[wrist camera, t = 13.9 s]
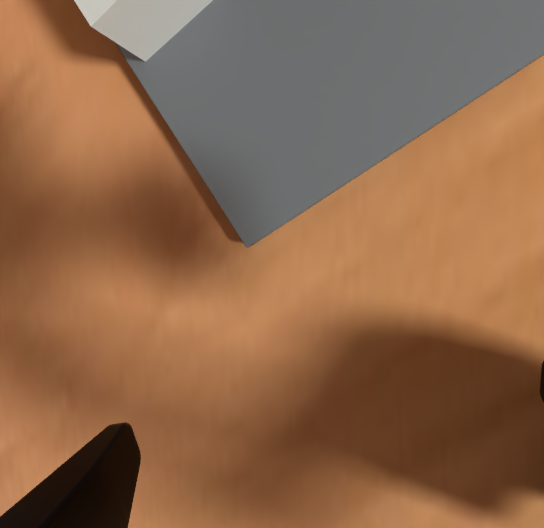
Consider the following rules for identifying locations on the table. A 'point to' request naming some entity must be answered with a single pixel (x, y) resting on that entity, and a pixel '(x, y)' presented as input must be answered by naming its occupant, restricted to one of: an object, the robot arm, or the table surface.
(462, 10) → the board
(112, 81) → the table surface
